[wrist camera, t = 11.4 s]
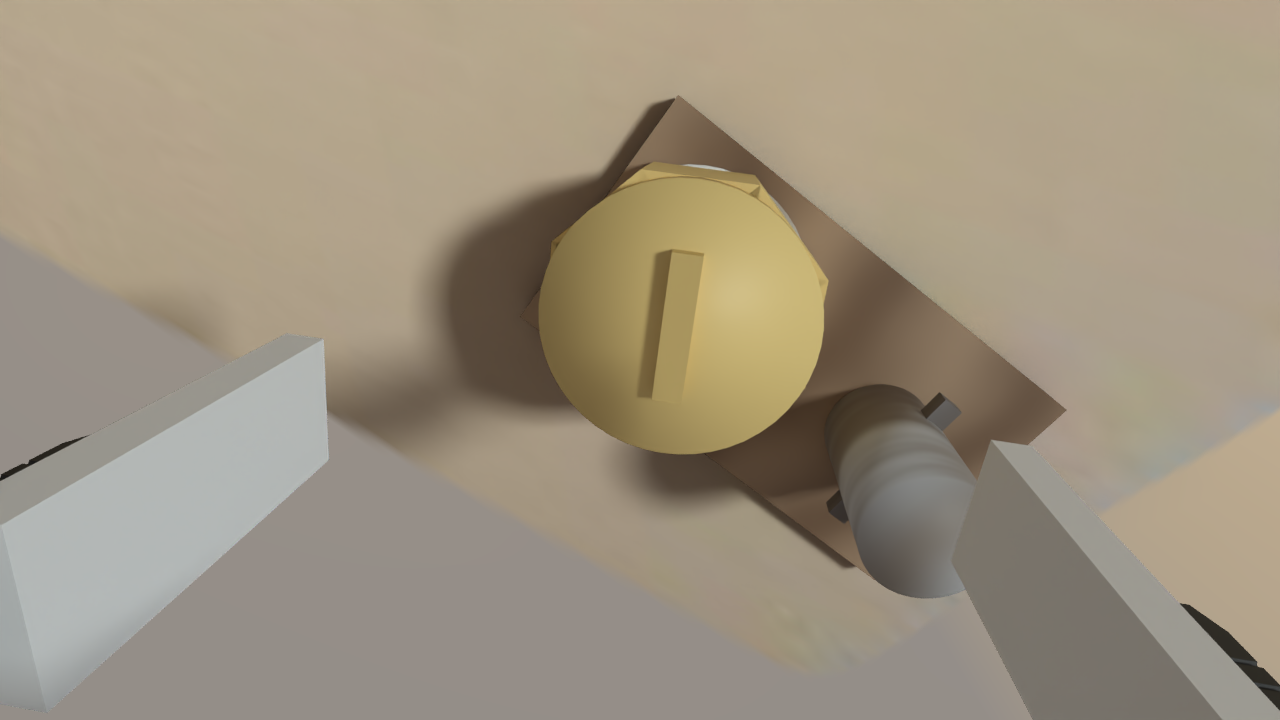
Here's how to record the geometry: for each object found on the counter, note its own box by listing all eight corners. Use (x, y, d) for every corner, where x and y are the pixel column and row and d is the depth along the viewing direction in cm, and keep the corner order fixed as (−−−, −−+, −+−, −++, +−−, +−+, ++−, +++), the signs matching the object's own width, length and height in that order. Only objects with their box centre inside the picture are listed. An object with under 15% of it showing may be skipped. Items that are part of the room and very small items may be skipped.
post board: (526, 310, 30) (449, 383, 22) (679, 96, 27) (658, 84, 18) (870, 567, 33) (921, 723, 24) (1055, 401, 29) (1191, 516, 21)
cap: (583, 152, 27) (544, 161, 21) (827, 184, 26) (857, 202, 20) (563, 377, 30) (524, 439, 24) (780, 410, 29) (794, 482, 23)
